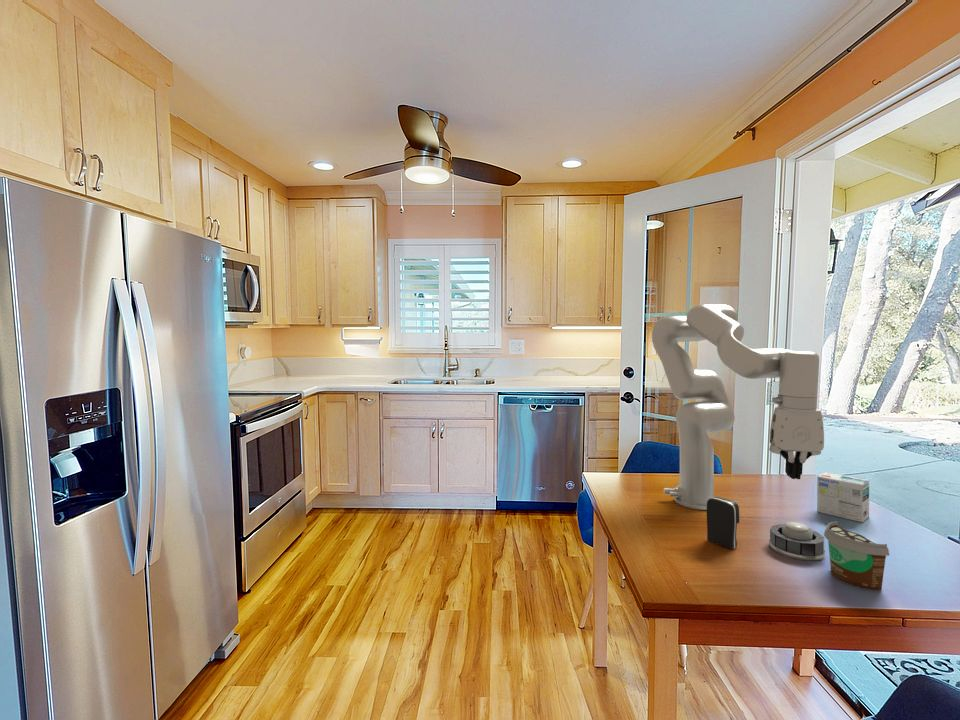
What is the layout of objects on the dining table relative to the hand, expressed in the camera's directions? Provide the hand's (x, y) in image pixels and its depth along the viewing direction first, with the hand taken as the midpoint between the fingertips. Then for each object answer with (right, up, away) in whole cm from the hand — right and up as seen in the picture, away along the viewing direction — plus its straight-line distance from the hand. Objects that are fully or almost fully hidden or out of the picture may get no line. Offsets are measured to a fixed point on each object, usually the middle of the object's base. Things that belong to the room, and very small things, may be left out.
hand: (793, 477), depth 108 cm
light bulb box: (+28, -16, +20) cm, 38 cm away
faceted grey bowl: (+1, -18, 0) cm, 18 cm away
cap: (+1, -17, 0) cm, 17 cm away
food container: (+2, -18, -13) cm, 23 cm away
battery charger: (-15, -18, +4) cm, 24 cm away
